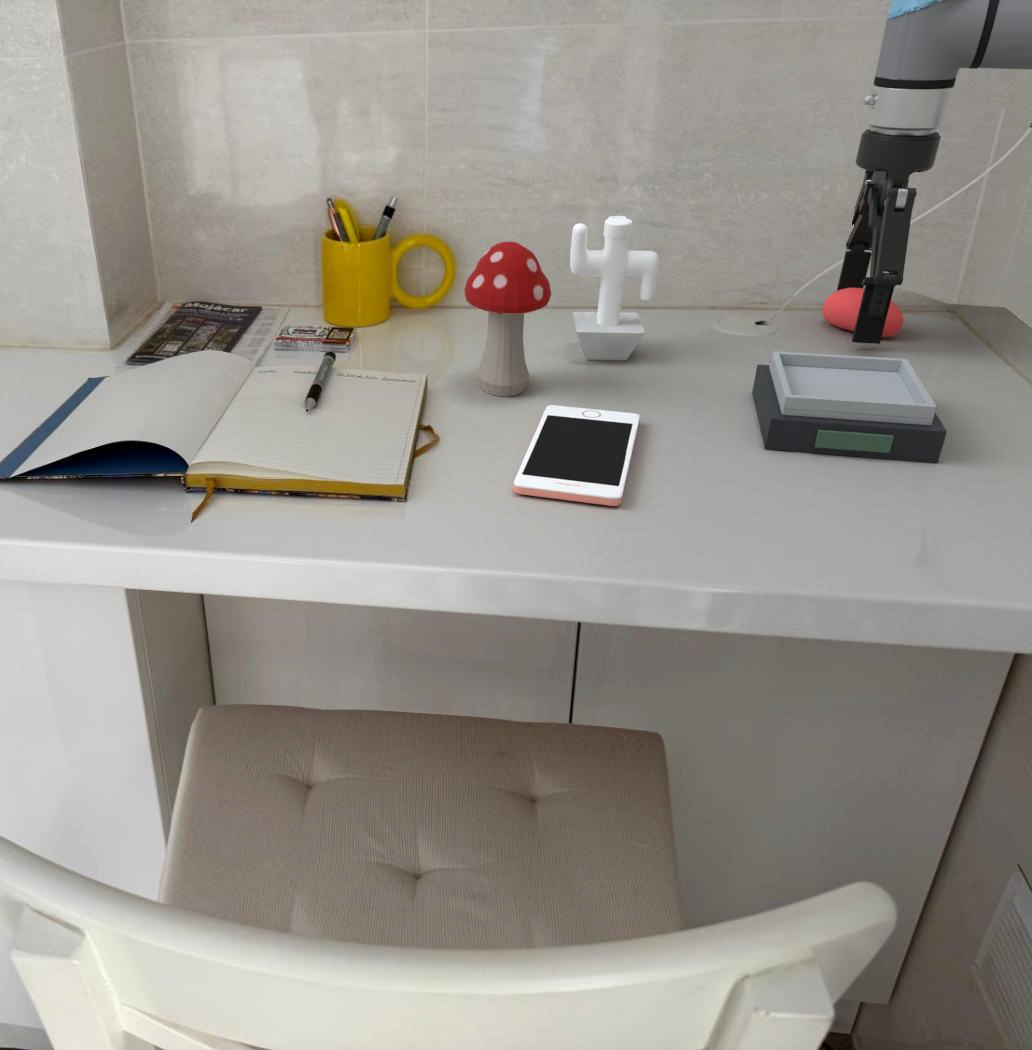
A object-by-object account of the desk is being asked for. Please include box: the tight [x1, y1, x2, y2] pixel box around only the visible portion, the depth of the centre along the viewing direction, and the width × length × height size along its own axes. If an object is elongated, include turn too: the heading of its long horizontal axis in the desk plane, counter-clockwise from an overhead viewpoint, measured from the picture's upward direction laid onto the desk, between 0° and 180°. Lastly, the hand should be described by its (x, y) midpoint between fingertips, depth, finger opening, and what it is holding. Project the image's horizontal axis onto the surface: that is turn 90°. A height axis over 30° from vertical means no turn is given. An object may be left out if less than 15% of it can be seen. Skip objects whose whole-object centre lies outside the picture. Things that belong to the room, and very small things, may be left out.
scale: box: [751, 350, 948, 464], centre depth 92 cm, size 14×14×5 cm
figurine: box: [569, 215, 660, 361], centre depth 109 cm, size 7×9×15 cm
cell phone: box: [512, 404, 641, 507], centre depth 89 cm, size 9×18×1 cm, turn 160°
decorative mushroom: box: [464, 241, 552, 398], centre depth 101 cm, size 10×9×15 cm
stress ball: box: [821, 287, 905, 338], centre depth 115 cm, size 5×9×6 cm, turn 19°
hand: (855, 323), depth 116 cm, fingers open, 13 cm apart
